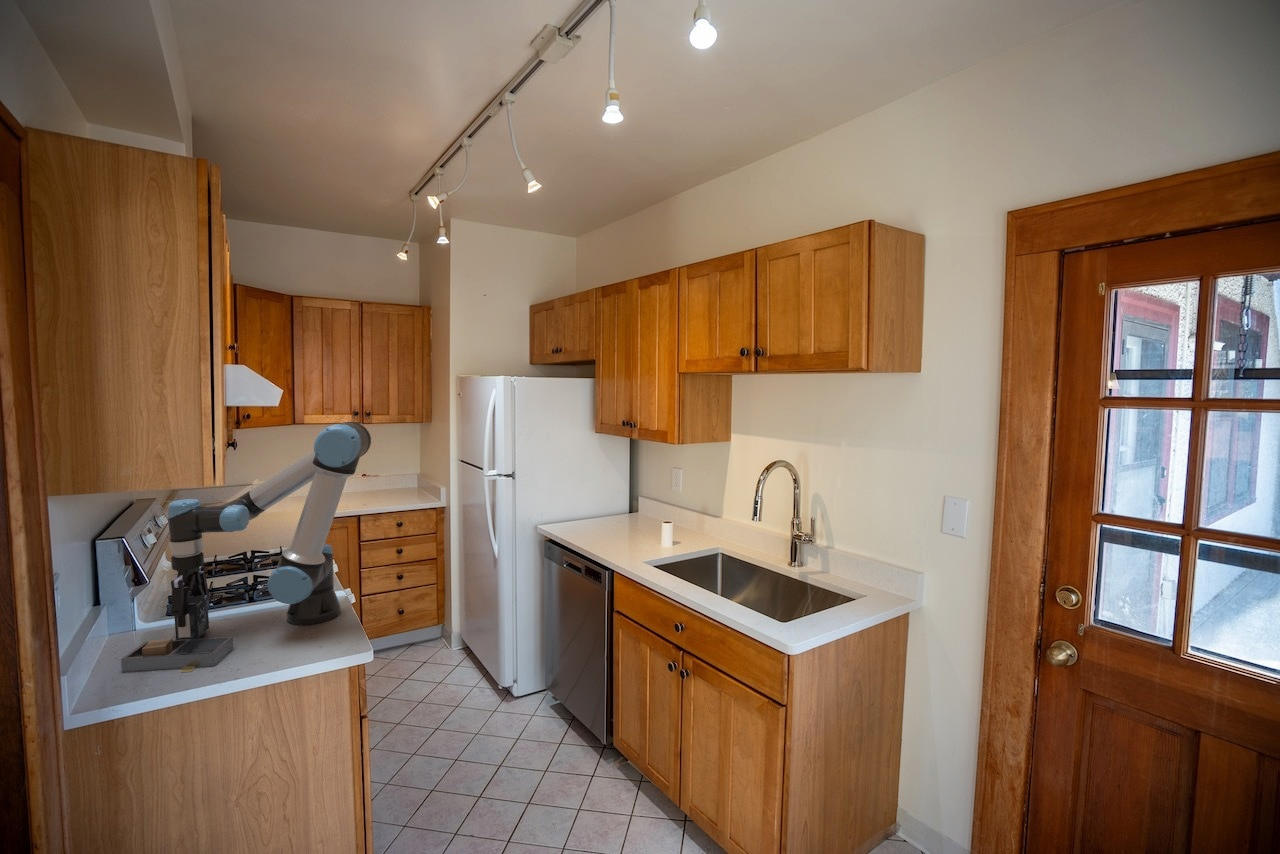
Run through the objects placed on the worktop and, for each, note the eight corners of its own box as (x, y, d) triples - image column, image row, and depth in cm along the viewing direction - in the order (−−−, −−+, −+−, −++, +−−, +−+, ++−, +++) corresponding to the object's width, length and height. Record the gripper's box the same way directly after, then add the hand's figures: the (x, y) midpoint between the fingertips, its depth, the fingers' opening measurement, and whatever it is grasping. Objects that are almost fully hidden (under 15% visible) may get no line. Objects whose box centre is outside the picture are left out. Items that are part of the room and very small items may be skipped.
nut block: (150, 659, 167) (149, 641, 166) (172, 656, 168) (172, 638, 168) (143, 667, 162) (142, 648, 162) (166, 664, 164) (165, 646, 163)
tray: (146, 653, 169) (146, 641, 169) (233, 648, 173) (232, 636, 173) (115, 676, 157) (114, 663, 156) (209, 670, 160) (209, 657, 160)
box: (198, 639, 176) (195, 603, 175) (175, 641, 175) (172, 605, 174) (210, 628, 184) (207, 593, 183) (188, 630, 182) (185, 595, 181)
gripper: (192, 544, 187) (197, 617, 189) (150, 565, 166) (157, 647, 168) (219, 543, 188) (224, 615, 190) (181, 563, 168) (187, 644, 169)
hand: (192, 630), depth 179 cm, fingers closed on box, 8 cm apart
